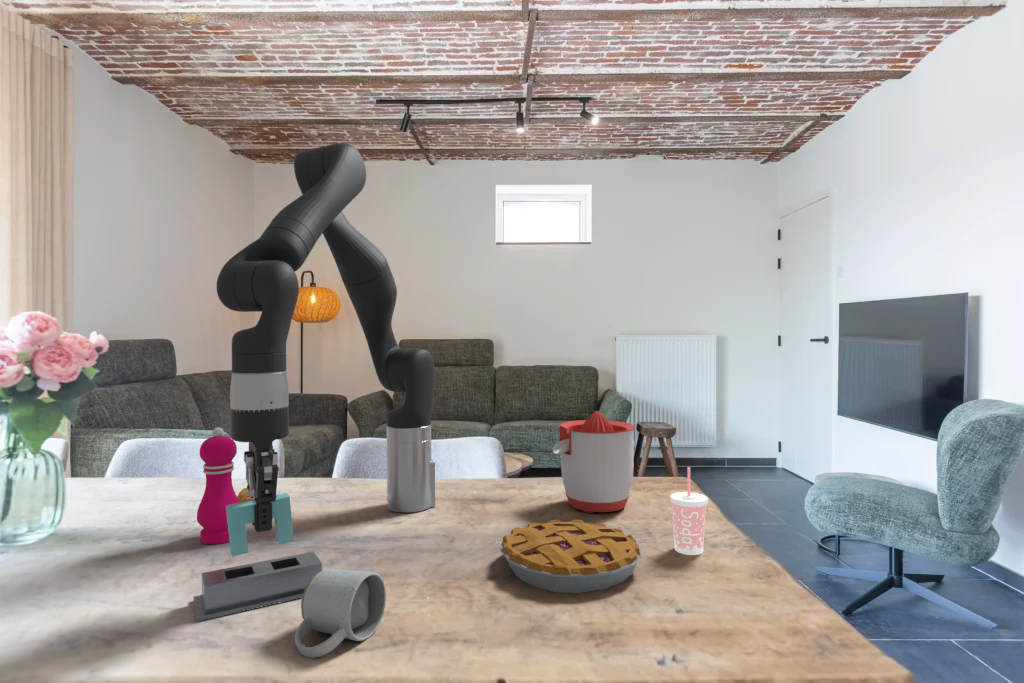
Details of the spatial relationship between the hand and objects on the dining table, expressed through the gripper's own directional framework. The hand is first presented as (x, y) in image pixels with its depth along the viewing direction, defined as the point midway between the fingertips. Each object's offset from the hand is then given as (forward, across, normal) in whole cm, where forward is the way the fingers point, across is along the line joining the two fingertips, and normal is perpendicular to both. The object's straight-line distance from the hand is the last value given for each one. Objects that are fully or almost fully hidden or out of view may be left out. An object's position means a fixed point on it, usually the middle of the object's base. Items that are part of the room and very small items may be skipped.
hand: (261, 526), depth 84 cm
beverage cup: (+10, -19, -64) cm, 68 cm away
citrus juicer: (+10, +9, -66) cm, 67 cm away
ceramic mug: (+10, -17, -6) cm, 20 cm away
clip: (+3, 0, 0) cm, 3 cm away
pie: (+10, -14, -43) cm, 46 cm away
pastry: (+10, +48, -5) cm, 49 cm away
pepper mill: (+10, +29, +3) cm, 31 cm away
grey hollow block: (+10, 0, 0) cm, 10 cm away
